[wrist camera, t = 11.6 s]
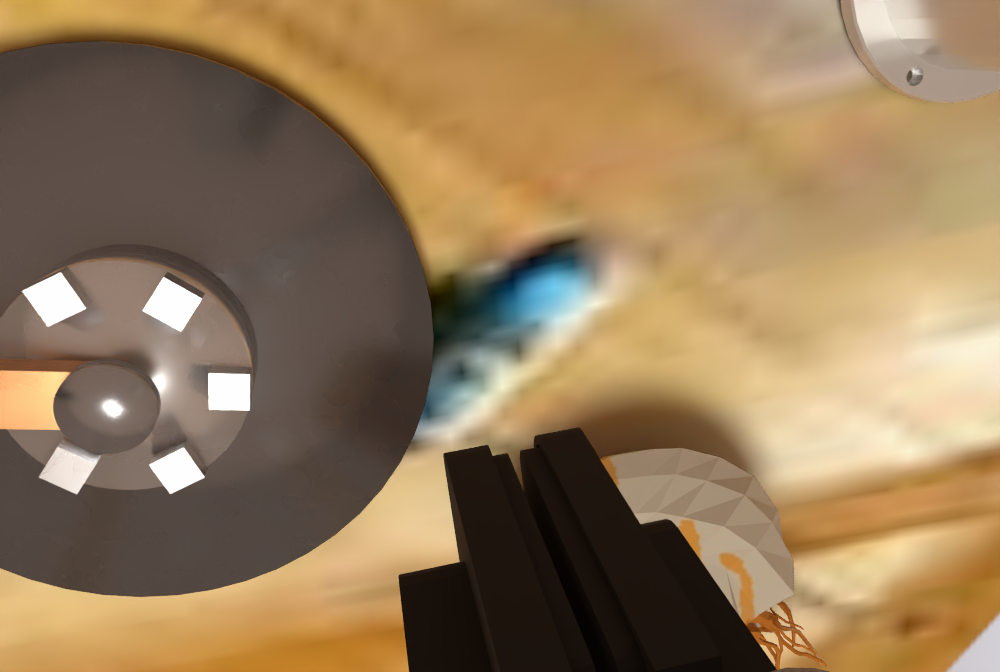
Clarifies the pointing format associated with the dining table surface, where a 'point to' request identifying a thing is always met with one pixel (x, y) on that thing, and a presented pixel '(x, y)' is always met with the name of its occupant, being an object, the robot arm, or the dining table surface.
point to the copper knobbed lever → (126, 369)
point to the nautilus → (718, 529)
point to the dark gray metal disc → (252, 278)
